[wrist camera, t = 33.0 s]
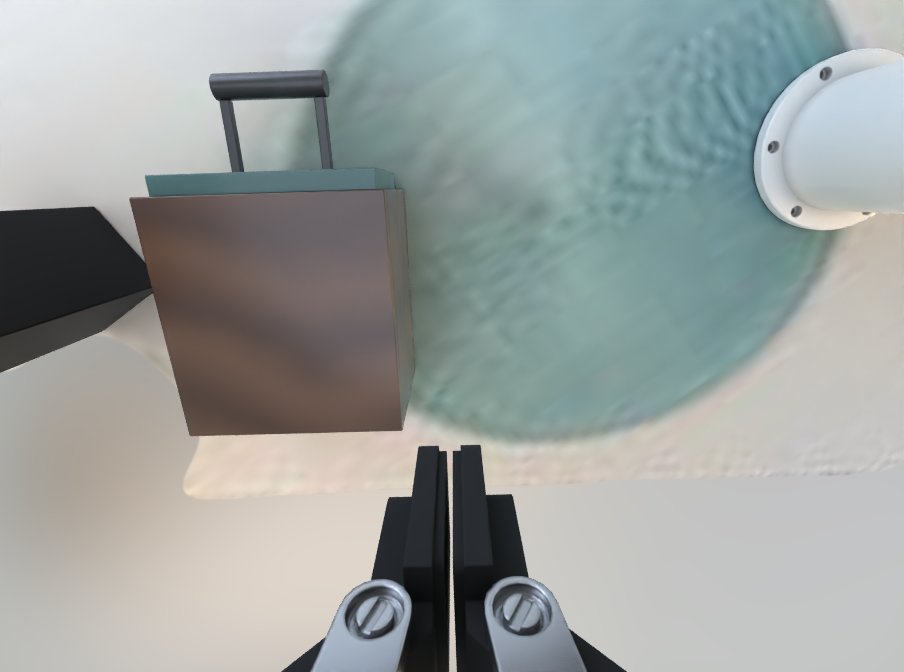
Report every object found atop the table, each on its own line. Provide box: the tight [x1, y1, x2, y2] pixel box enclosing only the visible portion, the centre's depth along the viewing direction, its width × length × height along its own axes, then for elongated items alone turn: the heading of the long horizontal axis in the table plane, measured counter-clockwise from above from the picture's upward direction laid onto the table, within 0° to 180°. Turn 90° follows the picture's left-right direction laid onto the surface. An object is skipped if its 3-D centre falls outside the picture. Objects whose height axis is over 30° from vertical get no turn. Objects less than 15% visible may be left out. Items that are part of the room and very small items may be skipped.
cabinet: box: [129, 189, 415, 436], centre depth 32 cm, size 16×15×11 cm
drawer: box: [145, 70, 395, 197], centre depth 31 cm, size 20×14×9 cm, turn 2°
